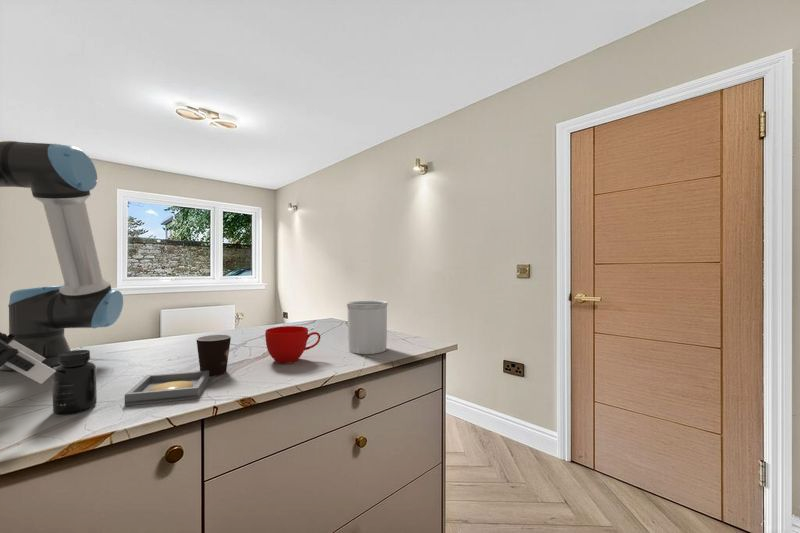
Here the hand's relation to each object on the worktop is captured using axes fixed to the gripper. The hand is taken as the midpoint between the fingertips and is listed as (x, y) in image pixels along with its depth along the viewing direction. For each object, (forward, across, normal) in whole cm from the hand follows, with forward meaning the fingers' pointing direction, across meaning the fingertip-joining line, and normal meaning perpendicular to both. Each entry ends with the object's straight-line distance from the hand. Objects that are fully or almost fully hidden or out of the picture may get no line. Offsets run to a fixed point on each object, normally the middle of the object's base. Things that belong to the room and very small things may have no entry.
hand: (43, 370), depth 70 cm
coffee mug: (+32, -5, +19) cm, 37 cm away
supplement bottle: (+10, -1, -3) cm, 11 cm away
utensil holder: (+65, +8, +52) cm, 84 cm away
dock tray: (+22, +2, +9) cm, 24 cm away
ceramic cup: (+47, 0, +34) cm, 58 cm away
